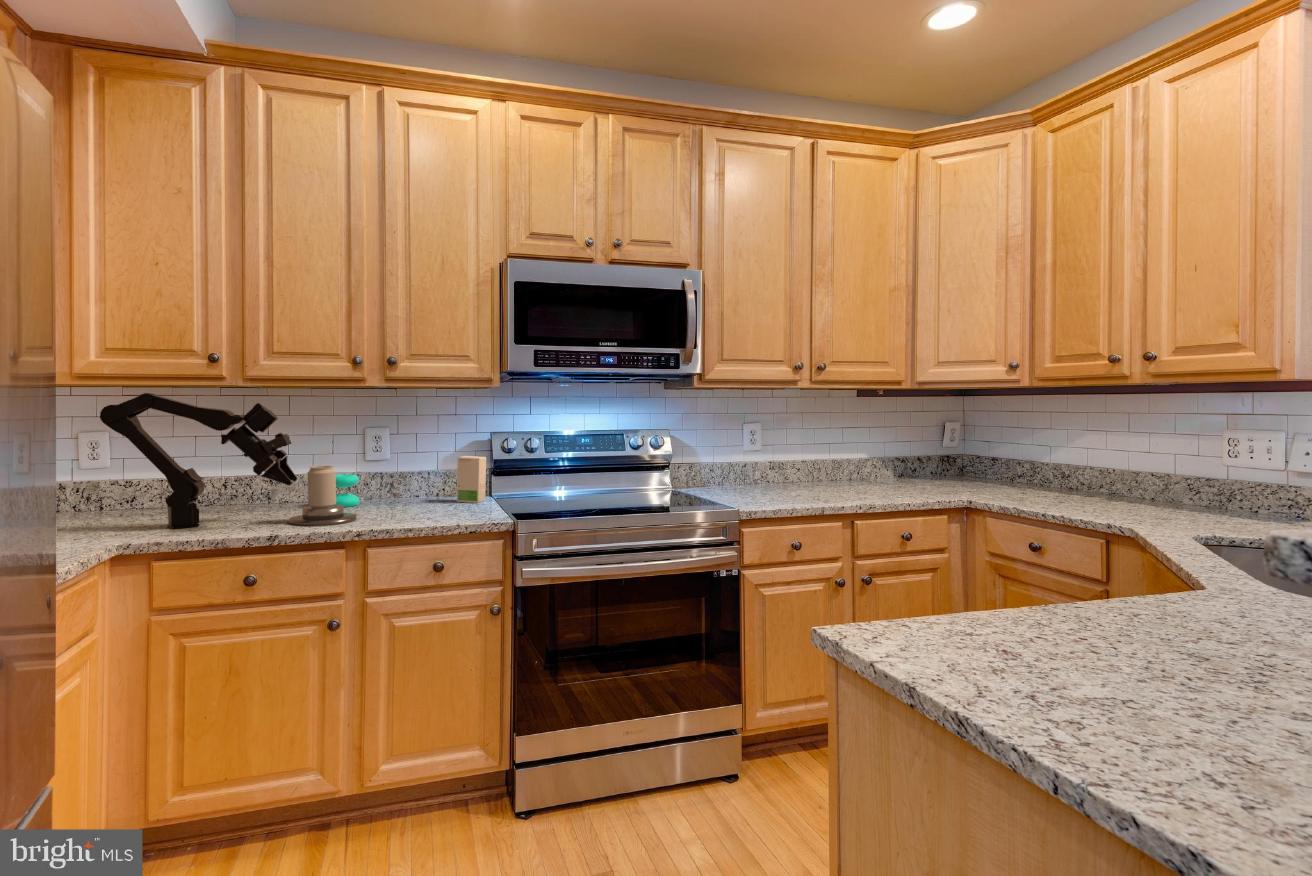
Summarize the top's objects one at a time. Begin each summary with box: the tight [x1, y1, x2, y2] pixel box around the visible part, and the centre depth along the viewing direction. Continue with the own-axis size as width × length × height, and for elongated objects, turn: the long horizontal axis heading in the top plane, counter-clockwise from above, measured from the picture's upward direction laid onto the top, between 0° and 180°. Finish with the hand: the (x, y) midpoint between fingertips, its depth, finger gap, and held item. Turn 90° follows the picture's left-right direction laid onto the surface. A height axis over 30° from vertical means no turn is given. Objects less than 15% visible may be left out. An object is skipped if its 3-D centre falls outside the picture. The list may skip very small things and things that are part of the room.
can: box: [307, 465, 337, 509], centre depth 217 cm, size 8×8×12 cm
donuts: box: [336, 473, 360, 508], centre depth 246 cm, size 10×10×10 cm
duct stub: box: [288, 504, 357, 527], centre depth 218 cm, size 18×18×4 cm
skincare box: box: [456, 455, 487, 504], centre depth 257 cm, size 8×7×16 cm
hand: (293, 482), depth 215 cm, fingers open, 9 cm apart
